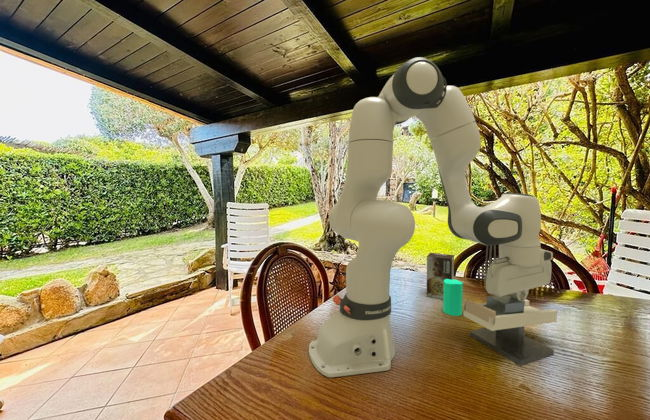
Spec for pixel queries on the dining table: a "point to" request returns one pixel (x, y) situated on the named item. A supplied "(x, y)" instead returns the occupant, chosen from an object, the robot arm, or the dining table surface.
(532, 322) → the beam
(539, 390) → the dining table surface
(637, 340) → the dining table surface
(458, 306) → the candle
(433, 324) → the dining table surface
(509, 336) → the pivot stand
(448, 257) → the coffee box
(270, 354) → the dining table surface
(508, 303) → the block
